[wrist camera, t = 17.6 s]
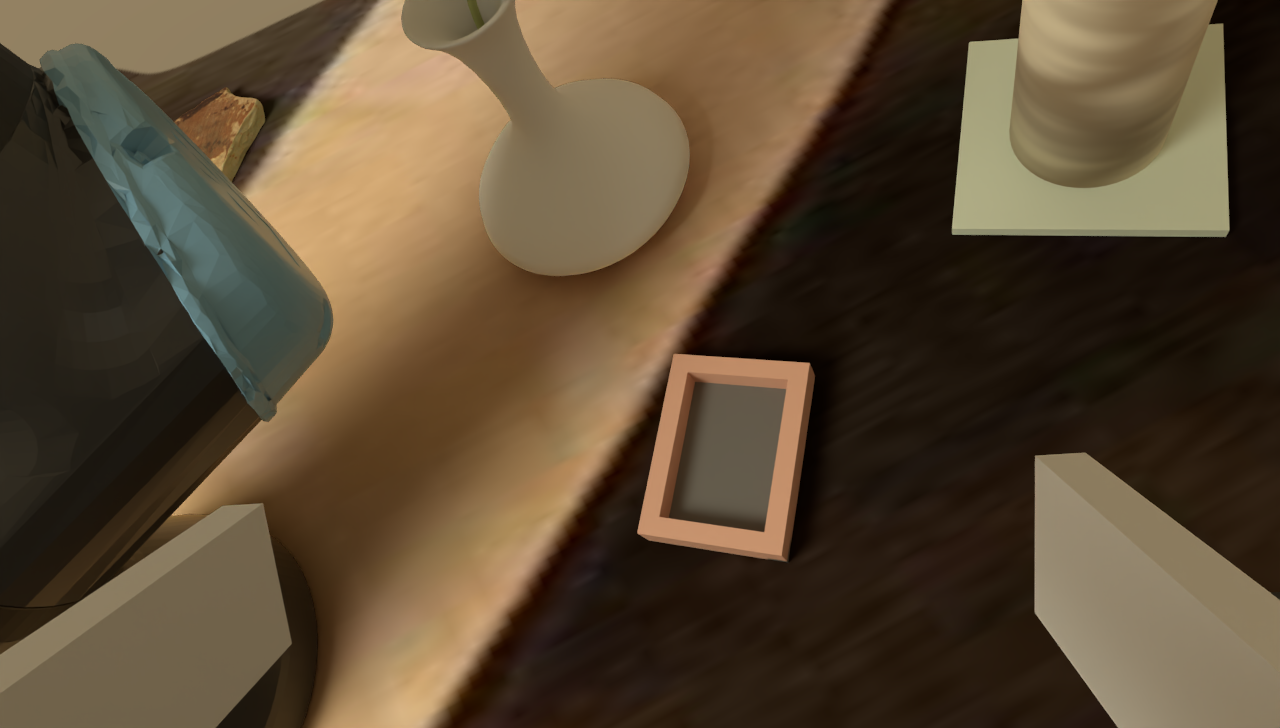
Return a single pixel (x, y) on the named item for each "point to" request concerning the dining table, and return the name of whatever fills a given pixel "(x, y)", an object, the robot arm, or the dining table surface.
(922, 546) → the dining table surface
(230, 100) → the shard
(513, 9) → the flower in vase
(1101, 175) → the birch canister
